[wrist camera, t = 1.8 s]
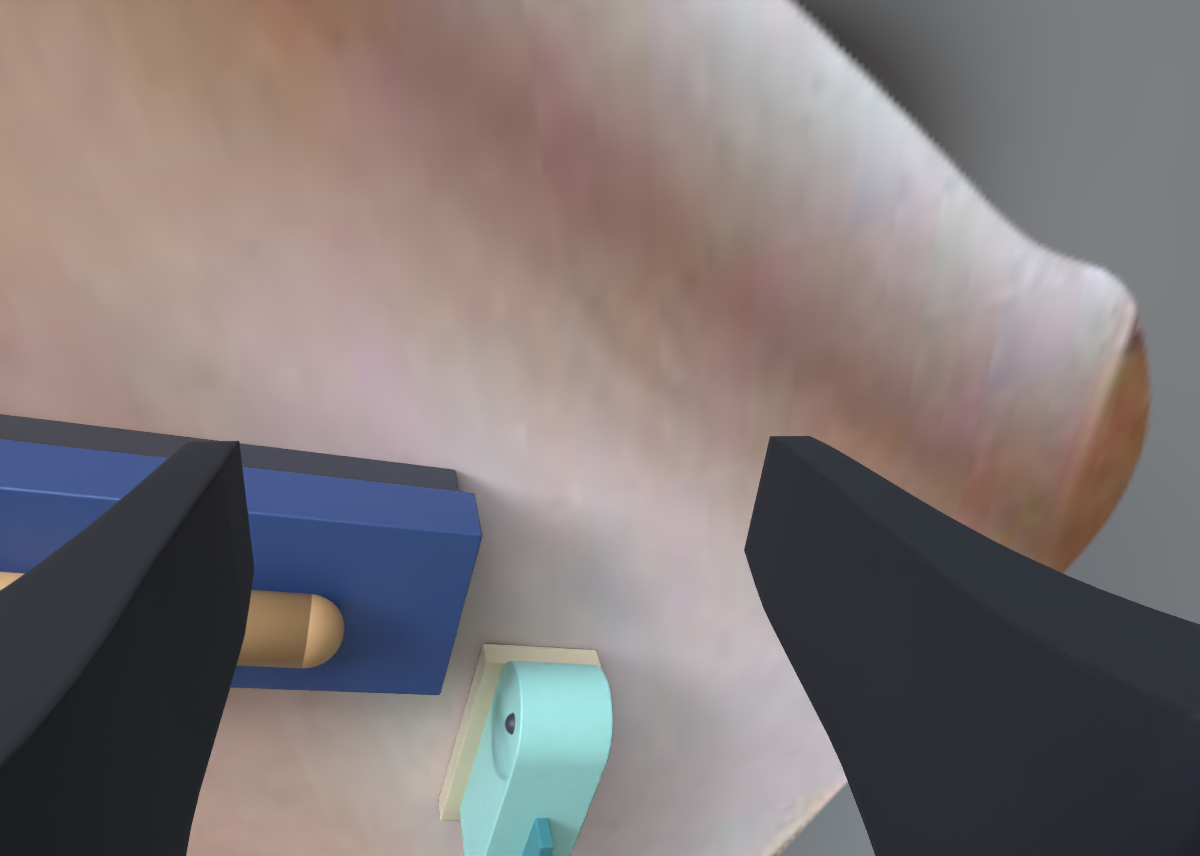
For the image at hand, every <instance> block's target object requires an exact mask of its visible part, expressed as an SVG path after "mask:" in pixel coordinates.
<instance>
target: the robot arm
mask: <svg viewBox="0 0 1200 856" xmlns="http://www.w3.org/2000/svg"><path fill="white" fill-rule="evenodd" d="M744 551H745V554H746V557H747V560H748V563H749V567H750V570H751V573H752V576H753V579H754V583H755V585H756V588H757V591H758V594H759V597H760V599H761V602H762V605H763V608H764V610H765V612H766V614H767V616H768V618H769V620H770V623H771V625H772V627H773V629H774V631H775V633H776V635H777V637H778V639H779V641H780V643H781V645H782V647H783V649H784V651H785V653H786V654H787V656H788V658H789V660H790V662H791V664H792V666H793V668H794V670H795V672H796V674H797V676H798V678H799V680H800V682H801V684H802V686H803V688H804V689H805V691H806V693H807V695H808V697H809V699H810V701H811V703H812V705H813V707H814V709H815V711H816V713H817V715H818V717H819V719H820V721H821V723H822V724H823V726H824V728H825V730H826V732H827V734H828V736H829V738H830V741H831V743H832V745H833V747H834V749H835V752H836V754H837V756H838V758H839V760H840V762H841V765H842V767H843V770H844V772H845V775H846V778H847V780H848V783H849V785H850V788H851V791H852V793H853V796H854V799H855V801H856V804H857V806H858V809H859V812H860V814H861V817H862V819H863V822H864V824H865V827H866V830H867V833H868V836H869V839H870V841H871V844H872V847H873V850H874V853H875V856H1200V624H1197V623H1193V622H1190V621H1187V620H1184V619H1181V618H1178V617H1175V616H1172V615H1169V614H1166V613H1163V612H1160V611H1157V610H1154V609H1152V608H1149V607H1146V606H1144V605H1141V604H1138V603H1136V602H1133V601H1130V600H1127V599H1125V598H1122V597H1119V596H1117V595H1114V594H1112V593H1109V592H1106V591H1104V590H1101V589H1098V588H1096V587H1093V586H1091V585H1089V584H1086V583H1084V582H1081V581H1079V580H1076V579H1074V578H1072V577H1069V576H1067V575H1065V574H1063V573H1060V572H1058V571H1056V570H1054V569H1052V568H1049V567H1047V566H1045V565H1043V564H1041V563H1038V562H1036V561H1034V560H1032V559H1030V558H1027V557H1025V556H1023V555H1021V554H1019V553H1017V552H1015V551H1013V550H1011V549H1009V548H1007V547H1005V546H1003V545H1001V544H999V543H997V542H995V541H993V540H991V539H989V538H987V537H985V536H984V535H982V534H980V533H978V532H976V531H974V530H972V529H971V528H969V527H967V526H965V525H963V524H961V523H959V522H958V521H956V520H954V519H952V518H950V517H949V516H947V515H945V514H943V513H942V512H940V511H938V510H936V509H935V508H933V507H931V506H930V505H928V504H926V503H924V502H923V501H921V500H919V499H918V498H916V497H914V496H913V495H911V494H909V493H908V492H906V491H904V490H903V489H901V488H899V487H898V486H896V485H894V484H893V483H891V482H889V481H888V480H886V479H885V478H883V477H881V476H880V475H878V474H876V473H875V472H873V471H871V470H870V469H868V468H866V467H865V466H863V465H862V464H860V463H858V462H857V461H855V460H853V459H852V458H850V457H848V456H846V455H845V454H843V453H841V452H840V451H838V450H836V449H834V448H832V447H831V446H829V445H827V444H825V443H823V442H821V441H819V440H817V439H815V438H813V437H810V436H770V439H769V443H768V448H767V452H766V457H765V461H764V465H763V470H762V474H761V479H760V483H759V488H758V492H757V496H756V501H755V505H754V510H753V514H752V518H751V523H750V527H749V532H748V536H747V541H746V545H745V549H744ZM253 576H254V560H253V552H252V544H251V535H250V527H249V518H248V510H247V502H246V493H245V485H244V476H243V468H242V460H241V451H240V443H239V441H212V442H187V443H186V444H184V445H183V446H182V447H181V448H179V449H178V450H177V451H176V452H175V453H174V454H172V455H171V456H170V457H169V458H168V459H167V460H166V461H164V462H163V463H162V464H161V465H160V466H159V467H158V468H156V469H155V470H154V471H153V472H152V473H151V474H150V475H148V476H147V477H146V478H145V479H144V480H143V481H142V482H140V483H139V484H138V485H137V486H136V487H135V488H133V489H132V490H131V491H130V492H129V493H128V494H126V495H125V496H124V497H123V498H122V499H120V500H119V501H118V502H117V503H116V504H114V505H113V506H112V507H111V508H110V509H109V510H107V511H106V512H105V513H104V514H103V515H101V516H100V517H99V518H98V519H97V520H95V521H94V522H93V523H92V524H90V525H89V526H88V527H87V528H85V529H84V530H83V531H81V532H80V533H79V534H77V535H76V536H75V537H73V538H72V539H71V540H69V541H68V542H67V543H65V544H64V545H63V546H61V547H60V548H59V549H57V550H56V551H55V552H53V553H52V554H51V555H49V556H48V557H47V558H45V559H44V560H43V561H41V562H40V563H39V564H37V565H36V566H35V567H33V568H32V569H31V570H29V571H28V572H27V573H25V574H24V575H22V576H21V577H19V578H18V579H16V580H15V581H14V582H12V583H11V584H9V585H8V586H6V587H5V588H3V589H2V590H0V856H186V852H187V847H188V841H189V836H190V830H191V825H192V821H193V817H194V813H195V809H196V805H197V801H198V796H199V792H200V789H201V785H202V782H203V778H204V775H205V772H206V768H207V765H208V761H209V758H210V755H211V751H212V748H213V744H214V741H215V737H216V734H217V731H218V727H219V724H220V720H221V717H222V714H223V710H224V707H225V703H226V700H227V697H228V693H229V690H230V686H231V683H232V679H233V676H234V672H235V669H236V665H237V662H238V658H239V655H240V651H241V648H242V644H243V640H244V637H245V631H246V625H247V618H248V612H249V605H250V598H251V591H252V583H253Z"/></svg>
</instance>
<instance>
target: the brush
mask: <svg viewBox="0 0 1200 856" xmlns="http://www.w3.org/2000/svg"><path fill="white" fill-rule="evenodd" d="M212 441H214V440H206V439H198V438H190V437H182V436H173V435H165V434H157V433H149V432H141V431H132V430H124V429H116V428H108V427H100V426H91V425H83V424H75V423H67V422H59V421H50V420H42V419H34V418H26V417H17V416H9V415H1V414H0V590H2V589H3V588H5V587H6V586H8V585H9V584H11V583H12V582H14V581H15V580H16V579H18V578H19V577H21V576H22V575H24V574H25V573H27V572H28V571H29V570H31V569H32V568H33V567H35V566H36V565H37V564H39V563H40V562H41V561H43V560H44V559H45V558H47V557H48V556H49V555H51V554H52V553H53V552H55V551H56V550H57V549H59V548H60V547H61V546H63V545H64V544H65V543H67V542H68V541H69V540H71V539H72V538H73V537H75V536H76V535H77V534H79V533H80V532H81V531H83V530H84V529H85V528H87V527H88V526H89V525H90V524H92V523H93V522H94V521H95V520H97V519H98V518H99V517H100V516H101V515H103V514H104V513H105V512H106V511H107V510H109V509H110V508H111V507H112V506H113V505H114V504H116V503H117V502H118V501H119V500H120V499H122V498H123V497H124V496H125V495H126V494H128V493H129V492H130V491H131V490H132V489H133V488H135V487H136V486H137V485H138V484H139V483H140V482H142V481H143V480H144V479H145V478H146V477H147V476H148V475H150V474H151V473H152V472H153V471H154V470H155V469H156V468H158V467H159V466H160V465H161V464H162V463H163V462H164V461H166V460H167V459H168V458H169V457H170V456H171V455H172V454H174V453H175V452H176V451H177V450H178V449H179V448H181V447H182V446H183V445H184V444H186V443H187V442H212ZM240 451H241V460H242V468H243V476H244V485H245V493H246V502H247V510H248V518H249V527H250V535H251V544H252V552H253V560H254V576H253V583H252V591H251V598H250V605H249V612H248V618H247V625H246V631H245V637H244V640H243V644H242V648H241V651H240V655H239V658H238V662H237V665H236V669H235V672H234V676H233V679H232V683H231V686H230V687H233V688H260V689H287V690H314V691H341V692H368V693H395V694H423V695H440V693H441V690H442V686H443V682H444V678H445V675H446V671H447V667H448V663H449V660H450V656H451V652H452V648H453V644H454V641H455V637H456V633H457V629H458V626H459V622H460V618H461V614H462V610H463V607H464V603H465V599H466V595H467V592H468V588H469V584H470V580H471V576H472V573H473V569H474V565H475V561H476V558H477V554H478V550H479V546H480V542H481V539H482V532H481V526H480V521H479V516H478V510H477V505H476V499H475V494H474V493H468V492H460V491H458V486H457V480H456V473H455V470H452V469H444V468H436V467H428V466H419V465H411V464H403V463H395V462H387V461H378V460H370V459H362V458H354V457H346V456H337V455H329V454H321V453H313V452H305V451H296V450H288V449H280V448H272V447H264V446H255V445H247V444H240Z"/></svg>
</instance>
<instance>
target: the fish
mask: <svg viewBox="0 0 1200 856" xmlns="http://www.w3.org/2000/svg"><path fill="white" fill-rule="evenodd" d="M612 729H613V710H612V699H611V693H610V688H609V684H608V681H607V678H606V676H605V674H604V672H603V670H602V667H601V664H600V660H599V657H598V654H597V651H596V650H587V649H569V648H552V647H534V646H517V645H499V644H483V645H482V649H481V652H480V656H479V660H478V663H477V667H476V670H475V674H474V677H473V681H472V684H471V688H470V691H469V695H468V698H467V702H466V705H465V709H464V712H463V716H462V720H461V723H460V727H459V730H458V734H457V737H456V741H455V744H454V748H453V751H452V755H451V758H450V762H449V765H448V769H447V772H446V776H445V780H444V783H443V787H442V790H441V794H440V797H439V813H440V820H441V821H453V820H461V827H462V837H463V847H464V856H571V853H572V851H573V848H574V845H575V843H576V840H577V838H578V835H579V833H580V830H581V828H582V825H583V822H584V820H585V817H586V815H587V812H588V810H589V807H590V805H591V802H592V799H593V797H594V794H595V792H596V789H597V787H598V784H599V782H600V779H601V776H602V774H603V771H604V769H605V767H606V764H607V761H608V757H609V752H610V747H611V740H612Z"/></svg>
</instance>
